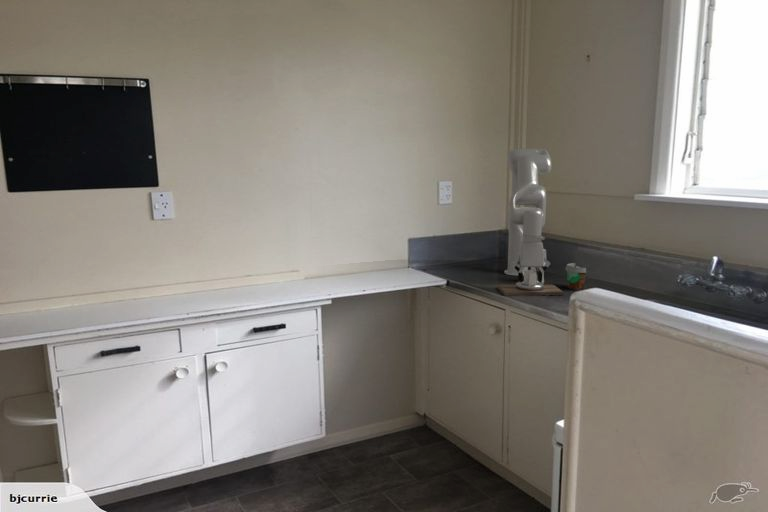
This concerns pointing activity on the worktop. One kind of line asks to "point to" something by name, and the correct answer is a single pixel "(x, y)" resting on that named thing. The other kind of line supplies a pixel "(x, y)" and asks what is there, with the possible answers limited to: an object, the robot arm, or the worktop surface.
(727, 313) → the worktop surface
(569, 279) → the food container
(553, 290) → the dial board
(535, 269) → the beer glass
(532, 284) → the dial
